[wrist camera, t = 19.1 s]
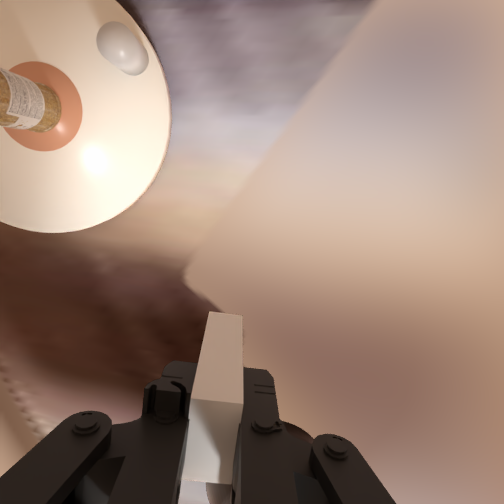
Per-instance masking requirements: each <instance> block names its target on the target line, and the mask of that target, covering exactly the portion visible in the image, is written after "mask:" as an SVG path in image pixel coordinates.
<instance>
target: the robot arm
mask: <svg viewBox="0 0 504 504" xmlns="http://www.w3.org/2000/svg"><path fill="white" fill-rule="evenodd" d="M275 394H276V392H275V386H274V379H273V377H272V376H271V374H270V373H269V372H268V371H267V370H263V369H254V368H245V367H243V315H236V314H228V313H220V312H211V311H209V315H208V320H207V324H206V329H205V333H204V338H203V343H202V347H201V352H200V357H199V361H198V363H191V362H182V361H172V362H170V363H169V364H168V365H167V366H165V368H164V370H163V373H162V376H161V378H160V379H157V380H154V381H152V382H150V383H148V384H147V386H146V387H145V388H144V398H143V410H142V416H141V418H139V419H137V420H134V421H132V422H128V423H122V424H114V425H112V420H111V419H110V418H109V416H108V415H106V414H104V413H102V412H97V411H84V412H79V413H76V414H73V415H71V416H70V417H68V418H67V419H65V420H64V421H62V422H61V423H60V424H59V425H58V426H57V427H56V428H55V429H54V430H52V431H51V432H50V433H49V434H48V435H47V436H46V437H45V438H44V439H42V440H41V441H40V442H39V443H38V444H37V445H36V446H35V447H34V448H32V450H30V451H29V452H28V453H27V454H26V455H25V456H24V457H22V458H21V459H20V460H19V461H18V462H17V463H16V464H15V465H14V466H12V467H11V468H10V469H9V470H8V471H7V472H6V473H5V474H3V475H2V476H1V477H0V504H178V500H179V495H180V486H181V480H189V481H199V482H206V491H207V496H208V500H209V503H210V504H396V503H395V501H394V500H393V499H392V497H391V496H390V494H389V493H388V492H387V490H386V489H385V487H384V486H383V485H382V483H381V482H380V481H379V479H378V477H377V476H376V475H375V473H374V472H373V471H372V469H371V468H370V466H369V465H368V463H367V462H366V461H365V459H364V458H363V456H362V455H361V454H360V452H359V451H358V449H357V448H356V447H355V446H354V445H353V444H352V443H351V442H350V441H348V440H346V439H345V438H343V437H340V436H337V435H334V434H323V435H319V436H317V437H316V438H315V439H313V438H312V437H311V436H310V435H309V434H308V433H307V432H305V431H304V430H302V429H301V428H299V427H297V426H295V425H293V424H290V423H287V422H284V421H281V420H280V419H279V413H278V406H277V399H276V395H275Z"/></svg>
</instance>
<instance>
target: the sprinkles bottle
mask: <svg viewBox="0 0 504 504" xmlns="http://www.w3.org/2000/svg"><path fill="white" fill-rule="evenodd" d="M61 110H62V108H61V103H60V100H59V97H58V96H57V95H56V93H55V92H54V91H53V90H52V89H51V88H50V87H48V86H47V85H45V84H42V83H38V82H33V81H31V80H29V79H27V78H25V77H23V76H20V75H18V74H15V73H13V72H10V71H8V70H5V69H3V68H0V126H2V127H8V128H14V129H27V130H29V131H32V132H38V133H42V132H47V131H50V130H51V129H53V128H54V127H55V126H56V125H57V124H58V122H59V120H60V118H61V114H62V113H61Z"/></svg>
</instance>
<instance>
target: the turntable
mask: <svg viewBox="0 0 504 504" xmlns="http://www.w3.org/2000/svg"><path fill="white" fill-rule="evenodd" d="M0 68H3V69H5V70H8V71H10V72H13V73H15V74H18V75H20V76H23V77H25V78H27V79H29V80H31V81H33V82H38V83H42V84H45V85H47V86H48V87H50V88H51V89H52V90H53V91H54V92H55V93H56V95H57V96H58V97H59V100H60V103H61V108H62V110H61V113H62V114H61V118H60V120H59V122H58V124H57V125H56V126H55V127H54V128H53V129H51V130H50V131H47V132H42V133H38V132H32V131H29V130H27V129H14V128H8V127H2V126H0V221H1V222H3V223H6V224H8V225H11V226H14V227H17V228H21V229H25V230H29V231H36V232H44V233H63V232H71V231H78V230H82V229H85V228H89V227H92V226H95V225H97V224H100V223H102V222H104V221H107V220H109V219H111V218H113V217H115V216H117V215H118V214H120V213H122V212H124V211H125V210H126V209H128V208H129V207H130V206H132V205H133V204H134V203H135V202H137V200H138V199H139V198H140V197H141V196H142V195H143V194H144V193H145V192H146V191H147V190H148V188H149V187H150V185H151V184H152V183H153V181H154V180H155V178H156V176H157V174H158V172H159V171H160V169H161V167H162V164H163V162H164V159H165V156H166V153H167V150H168V146H169V141H170V137H171V126H172V107H171V99H170V92H169V87H168V83H167V80H166V76H165V73H164V70H163V68H162V65H161V63H160V60H159V58H158V56H157V54H156V52H155V50H154V49H153V47H152V45H151V43H150V42H149V40H148V38H147V37H146V36H145V34H144V33H143V32H142V30H141V29H140V28H139V26H138V25H137V24H136V22H135V21H134V20H133V18H132V17H131V16H130V15H129V14H128V13H127V12H126V11H125V10H124V8H123V7H122V6H121V5H120V4H119V3H118V2H117V1H116V0H0Z"/></svg>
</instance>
